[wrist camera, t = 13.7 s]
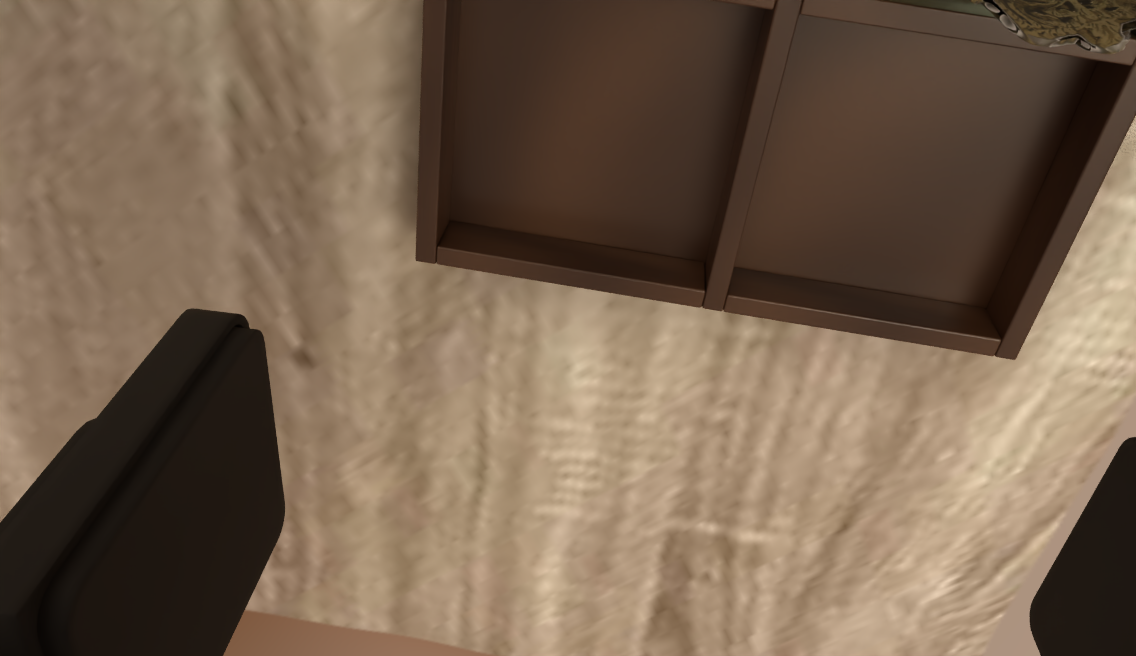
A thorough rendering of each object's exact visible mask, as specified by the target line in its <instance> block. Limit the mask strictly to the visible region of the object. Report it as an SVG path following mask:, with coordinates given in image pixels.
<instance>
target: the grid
mask: <svg viewBox="0 0 1136 656" xmlns="http://www.w3.org/2000/svg"><path fill="white" fill-rule="evenodd" d="M1124 33H1125V32H1124ZM1124 33H1122V34H1124ZM1128 35H1131V36H1130V38H1129V42H1128V43H1127V44H1126V45H1125V48H1124V50H1122V51H1120V52H1118V53H1115V54H1101V53H1095V52H1091V51H1087V50H1084V49H1082V48H1080V47H1079V46H1077V45H1076V44H1071V45H1063V46H1055V47H1044V46H1036V45H1032V44H1030V43H1028V42H1026V41H1024V40H1022V39H1021V38H1020V37H1018V36H1017V35H1015V34H1014V33H1013V32H1011V31H1010V30H1009V29H1007V28H1006V27H1005V26H1004V25H1003V24H1002V23H1001V22H1000V21H999V20H997V19H996V18H995V17H994V16H993V15H992V13H991V12H989V11H988V10H987V9H986V8H985V7H984V6H983V5H982V4H980V3H979V4H974V3H973V2H972V1H971V0H423V33H422V65H421V98H420V131H419V163H418V196H417V228H416V261H421V262H427V263H433V264H435V263H436V262H437V264H440V265H446V266H452V267H458V268H464V269H470V270H476V271H482V272H488V273H494V274H500V275H506V276H512V277H518V278H524V279H531V280H537V281H543V282H549V283H555V284H561V285H567V286H573V287H579V288H585V289H591V290H597V291H603V292H609V293H615V294H621V295H627V296H633V297H639V298H645V299H651V300H657V301H663V302H669V303H675V304H681V305H687V306H693V307H703V308H705V309H711V310H717V311H722V310H724V311H725V312H729V313H735V314H741V315H747V316H753V317H759V318H765V319H771V320H777V321H783V322H790V323H796V324H802V325H808V326H814V327H820V328H826V329H832V330H838V331H844V332H850V333H856V334H862V335H868V336H874V337H880V338H886V339H892V340H898V341H904V342H910V343H916V344H922V345H928V346H934V347H940V348H946V349H952V350H958V351H965V352H971V353H977V354H983V355H989V356H994V355H995V356H996V357H1000V358H1006V359H1012V360H1015V359H1016V358H1017V356H1018V354H1019V351H1020V349H1021V347H1022V345H1023V343H1024V341H1025V339H1026V337H1027V335H1028V333H1029V331H1030V329H1031V327H1032V325H1033V323H1034V321H1035V319H1036V317H1037V315H1038V313H1039V311H1040V309H1041V307H1042V305H1043V303H1044V301H1045V299H1046V296H1047V294H1048V292H1049V290H1050V288H1051V286H1052V284H1053V282H1054V280H1055V278H1056V276H1057V274H1058V272H1059V270H1060V268H1061V266H1062V264H1063V262H1064V260H1065V258H1066V256H1067V254H1068V252H1069V250H1070V248H1071V246H1072V244H1073V242H1074V239H1075V237H1076V235H1077V233H1078V231H1079V229H1080V227H1081V225H1082V223H1083V221H1084V219H1085V217H1086V215H1087V213H1088V211H1089V209H1090V207H1091V205H1092V203H1093V201H1094V199H1095V197H1096V195H1097V193H1098V191H1099V189H1100V187H1101V184H1102V182H1103V180H1104V178H1105V176H1106V174H1107V172H1108V170H1109V168H1110V166H1111V164H1112V162H1113V160H1114V158H1115V156H1116V154H1117V152H1118V150H1119V148H1120V146H1121V144H1122V142H1123V140H1124V138H1125V136H1126V134H1127V132H1128V130H1129V127H1130V125H1131V123H1132V121H1133V119H1134V117H1135V115H1136V29H1133V30H1130V33H1129V34H1128Z"/></svg>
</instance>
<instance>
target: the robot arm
mask: <svg viewBox="0 0 1136 656" xmlns="http://www.w3.org/2000/svg"><path fill="white" fill-rule="evenodd" d="M284 516H285V501H284V493H283V485H282V477H281V469H280V461H279V453H278V445H277V437H276V429H275V421H274V413H273V405H272V397H271V389H270V381H269V373H268V365H267V357H266V349H265V341H264V337H263V334H262V332H261V331H259V330H256V329H250V328H249V324H248V321H247V320H246V318H245V317H244V316H243V315H241V314H234V313H226V312H218V311H210V310H202V309H193V308H192V309H187V310H186V311H185V312H184V313H183V314H181V316H180V317H179V318H178V319H177V320H176V322H175V323H174V324H173V325H172V327H171V328H170V329H169V330H168V331H167V333H166V334H165V335H164V336H163V338H162V339H161V340H160V341H159V342H158V344H157V345H156V346H155V347H154V348H153V350H152V351H151V352H150V353H149V355H148V356H147V357H146V358H145V359H144V361H143V362H142V363H141V364H140V366H139V367H138V368H137V369H136V370H135V372H134V373H133V374H132V375H131V377H130V378H129V379H128V380H127V381H126V383H125V384H124V385H123V386H122V387H121V389H120V390H119V391H118V392H117V394H116V395H115V396H114V397H113V398H112V400H111V401H110V402H109V403H108V405H107V406H106V407H105V408H104V409H103V411H102V412H101V413H100V414H99V416H98V417H97V418H95V419H93V420H90V421H88V422H86V423H85V424H84V425H83V426H82V427H81V428H80V429H79V430H78V431H76V433H75V434H74V435H73V436H72V437H71V439H70V440H69V441H68V442H67V443H66V445H65V446H64V447H63V448H62V449H61V451H60V452H59V453H58V454H57V455H56V457H55V458H54V459H53V460H52V461H51V463H50V464H49V465H48V466H47V467H46V469H45V470H44V471H43V472H42V473H41V475H40V476H39V477H38V478H37V479H36V481H35V482H34V483H33V484H32V485H31V487H30V488H29V489H28V490H27V491H26V493H25V494H24V495H23V496H22V497H21V499H20V500H19V501H18V502H17V503H16V505H15V506H14V507H13V508H12V509H11V511H10V512H9V513H8V514H7V515H6V517H5V518H4V519H3V520H2V521H1V523H0V656H223V654H224V652H225V650H226V648H227V646H228V644H229V642H230V639H231V637H232V635H233V633H234V631H235V629H236V627H237V625H238V623H239V621H240V619H241V616H242V614H243V612H244V610H245V608H246V606H247V604H248V602H249V600H250V597H251V595H252V593H253V591H254V589H255V587H256V585H257V583H258V581H259V579H260V576H261V574H262V572H263V570H264V568H265V566H266V564H267V562H268V560H269V557H270V555H271V553H272V551H273V549H274V547H275V545H276V543H277V541H278V538H279V536H280V533H281V530H282V527H283V522H284ZM1030 627H1031V631H1032V634H1033V637H1034V640H1035V642H1036V645H1037V647H1038V650H1039V652H1040V655H1041V656H1136V437H1132V438H1129V439H1127V440H1125V441H1124V442H1123V444H1122V445H1121V446H1120V448H1119V449H1118V451H1117V453H1116V455H1115V456H1114V458H1113V460H1112V462H1111V463H1110V465H1109V467H1108V469H1107V470H1106V472H1105V474H1104V476H1103V477H1102V479H1101V481H1100V483H1099V484H1098V486H1097V488H1096V490H1095V491H1094V493H1093V495H1092V497H1091V499H1090V500H1089V502H1088V504H1087V506H1086V507H1085V509H1084V511H1083V513H1082V514H1081V516H1080V518H1079V520H1078V522H1077V523H1076V525H1075V527H1074V528H1073V530H1072V532H1071V534H1070V535H1069V537H1068V539H1067V541H1066V542H1065V544H1064V546H1063V548H1062V549H1061V551H1060V553H1059V555H1058V557H1057V558H1056V560H1055V562H1054V564H1053V565H1052V567H1051V569H1050V570H1049V572H1048V574H1047V576H1046V577H1045V579H1044V581H1043V583H1042V585H1041V586H1040V588H1039V590H1038V592H1037V593H1036V595H1035V597H1034V599H1033V601H1032V604H1031V608H1030Z"/></svg>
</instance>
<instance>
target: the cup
mask: <svg viewBox="0 0 1136 656" xmlns="http://www.w3.org/2000/svg"><path fill="white" fill-rule="evenodd" d="M971 1H972V2H973V3H974V4H979V3H980V4H982V5H983V6H984V7H985V8H986V9H987V10H988V11H989V12H991V13H992V15H993V16H994V17H995V18H996V19H997V20H999V21H1000V22H1001V23H1002V24H1003V25H1004V26H1005V27H1006V28H1007V29H1009V30H1010V31H1011V32H1013V33H1014V34H1015V35H1017V36H1018V37H1020V38H1021V39H1022V40H1024V41H1026V42H1028V43H1030V44H1032V45H1036V46H1044V47H1055V46H1063V45H1071V44H1076V45H1077V46H1079V47H1080V48H1082V49H1084V50H1087V51H1091V52H1095V53H1101V54H1115V53H1118V52H1120V51H1122V50H1124V48H1125V45H1126V44H1127V43H1128V42H1129V38H1130V36H1131V35H1128V34H1129V33H1130V30H1133V29H1136V0H971ZM1124 32H1125V33H1124ZM1122 33H1124V34H1122Z"/></svg>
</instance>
